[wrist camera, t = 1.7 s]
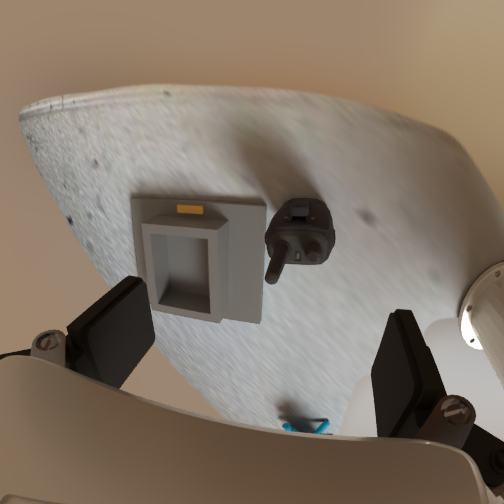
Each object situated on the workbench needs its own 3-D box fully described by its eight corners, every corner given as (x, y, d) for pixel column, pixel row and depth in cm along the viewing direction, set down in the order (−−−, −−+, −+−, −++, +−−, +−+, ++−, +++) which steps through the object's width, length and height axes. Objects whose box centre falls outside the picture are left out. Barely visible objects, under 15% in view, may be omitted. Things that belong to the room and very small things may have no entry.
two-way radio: (278, 228, 31) (242, 300, 17) (278, 186, 29) (238, 226, 16) (332, 230, 30) (337, 306, 16) (333, 187, 28) (344, 230, 15)
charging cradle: (266, 204, 30) (257, 215, 26) (261, 319, 36) (253, 341, 31) (135, 197, 34) (112, 205, 29) (146, 298, 39) (129, 315, 35)
